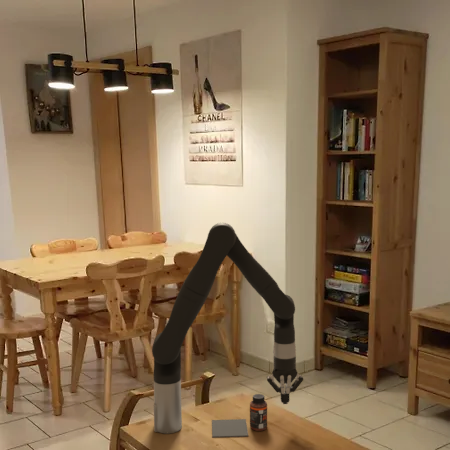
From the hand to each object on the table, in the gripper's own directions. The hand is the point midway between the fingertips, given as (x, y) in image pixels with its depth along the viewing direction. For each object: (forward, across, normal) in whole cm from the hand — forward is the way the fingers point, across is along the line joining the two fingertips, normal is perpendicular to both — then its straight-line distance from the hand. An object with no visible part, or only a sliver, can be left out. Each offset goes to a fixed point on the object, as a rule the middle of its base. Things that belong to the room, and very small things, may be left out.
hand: (285, 403), depth 192 cm
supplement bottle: (+9, -9, 0) cm, 13 cm away
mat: (+8, -19, 0) cm, 21 cm away
